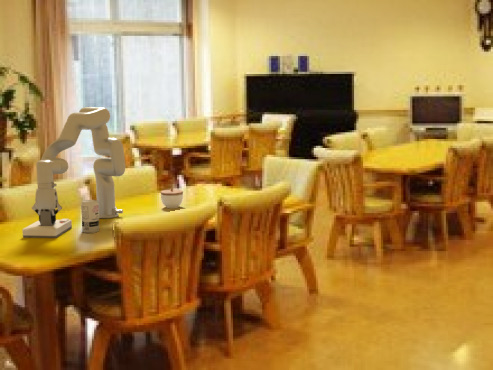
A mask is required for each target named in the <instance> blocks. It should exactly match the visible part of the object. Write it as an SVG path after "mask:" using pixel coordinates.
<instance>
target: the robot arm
mask: <svg viewBox="0 0 493 370" xmlns="http://www.w3.org/2000/svg"><path fill="white" fill-rule="evenodd" d="M110 119H111V113H110V111H109V110H108V108H105V107H94V106H86V107H82V108H80V109H79V112H72V113H70V114H69V115H68V117H67V119H66V121H65V123H64V125H63V128H62V130H61V132H60V135H59V136H58V138H57V139H55V140H54V141H52V142H51V144H49V145H48V146H47V147H46V148H45V150H44V152H43V154H42V156H41V159H40V160H38V161H36V164H35V166H36V182H37V188H36V190H35V200H34V201H35V202H34V204H33V205H32V206H31V209H32V210H33V211H34V212H35V213H36V214H37V216H38V221H40V211H42V210H51V213H52V216H51V222H52V224H54V223H55V222H56V220H57V216H56V215H57V214H58V213H59V212H60V211H61V210H63V206H61V205H60V203H59V198H58V193H57V189H56V188H55V187H57V183H55V181H54V175H63V174H65V173H66V172H67V171H68V169H69V163H68V161H67V160H66V159H65V158H60V157H57V156H58V155H59V154H60V153H62V152H63V151H65V150H67V149H70V148H73V147H74V146H75V145H76V144H77V141H78V139H79V136H80V135H81V132H82V130H85V131H87V130H89V131H90V132H91V136H92V144H93V151H94V152H95V154H96V155H97V156H103V157H99V158H96V159H95V160H94V162H93V164H92V165H93V172H94V176H95V186H96V187H95V188H96V189H95V191H96V200H97V202H98V208H99V219H113V218H116V217H118V216H119V214H123V213H124V210H123V209H118V208H117V206H116V195H115V194H116V192H115V190H116V189H115V181H114V178H113V177H121V176H123V175H124V174H125V172H126V160H125V152H124V151H125V150H124V145H123V143H122V141H121V140H120V139H118V138H115V137H110V135H109V129H108V126H107V124H108V123H109V121H110ZM104 156H105V157H104ZM40 224H41V221H40Z"/></svg>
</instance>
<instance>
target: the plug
mask: <svg viewBox="0 0 493 370" xmlns="http://www.w3.org/2000/svg"><path fill="white" fill-rule="evenodd" d="M51 216H52V213H51V210H42V211H40V221H41V226H53V225H54V224H55V223H54V224H52V222H51Z"/></svg>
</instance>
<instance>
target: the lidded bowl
mask: <svg viewBox="0 0 493 370" xmlns="http://www.w3.org/2000/svg"><path fill="white" fill-rule="evenodd" d="M160 197H161V198H160V199H161V203H162V204H163V206H164V207H165V208H166V207H167V208H166V209H178V208H179V206H181V205H182V202H183V199H184V191H183V190H181V189H174V188H173V187H170V189H164V190H161V191H160Z"/></svg>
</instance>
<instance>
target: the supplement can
mask: <svg viewBox="0 0 493 370" xmlns="http://www.w3.org/2000/svg"><path fill="white" fill-rule="evenodd" d="M80 209H81V212H80V213H81V214H80V216H81V230H82V232H83V233H86V234H92V233H93V234H94V233H97V232H99V230H100V218H99V208H98V202H97V199H85V200H82V201H81V204H80Z"/></svg>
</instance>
